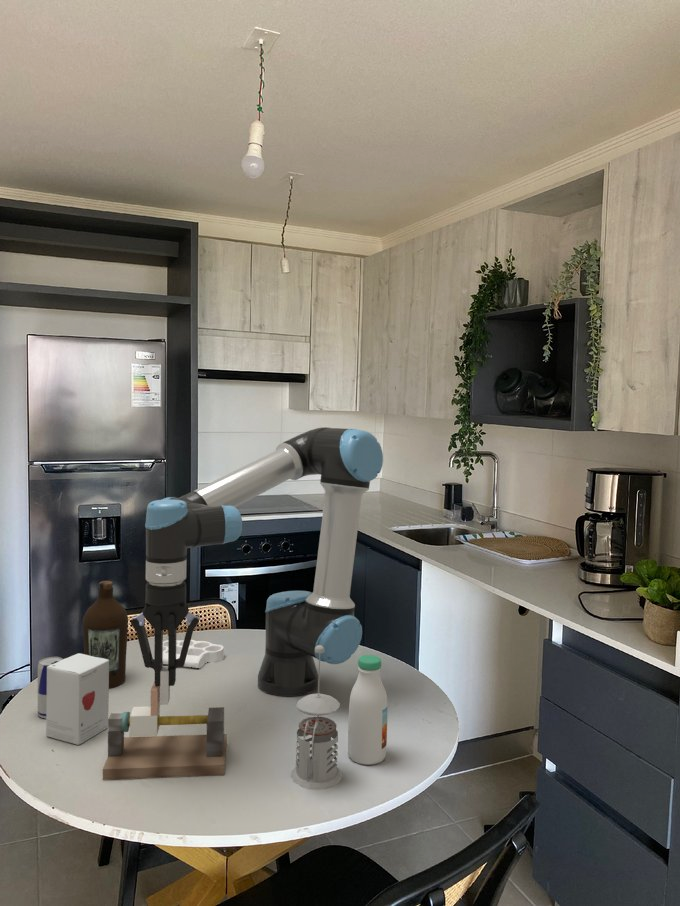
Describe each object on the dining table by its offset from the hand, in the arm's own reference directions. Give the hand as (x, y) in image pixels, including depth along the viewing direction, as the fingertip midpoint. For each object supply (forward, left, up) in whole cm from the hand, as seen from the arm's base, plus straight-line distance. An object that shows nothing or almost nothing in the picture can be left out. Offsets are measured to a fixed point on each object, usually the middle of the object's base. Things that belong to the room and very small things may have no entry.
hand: (165, 701), depth 131 cm
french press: (-29, +8, -12) cm, 32 cm away
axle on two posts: (-1, 0, -12) cm, 12 cm away
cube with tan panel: (+4, 0, -6) cm, 7 cm away
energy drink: (+27, -22, -12) cm, 37 cm away
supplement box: (+19, -13, -12) cm, 26 cm away
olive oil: (+19, -39, -12) cm, 45 cm away
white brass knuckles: (0, -54, -13) cm, 55 cm away
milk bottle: (-40, +1, -12) cm, 42 cm away
